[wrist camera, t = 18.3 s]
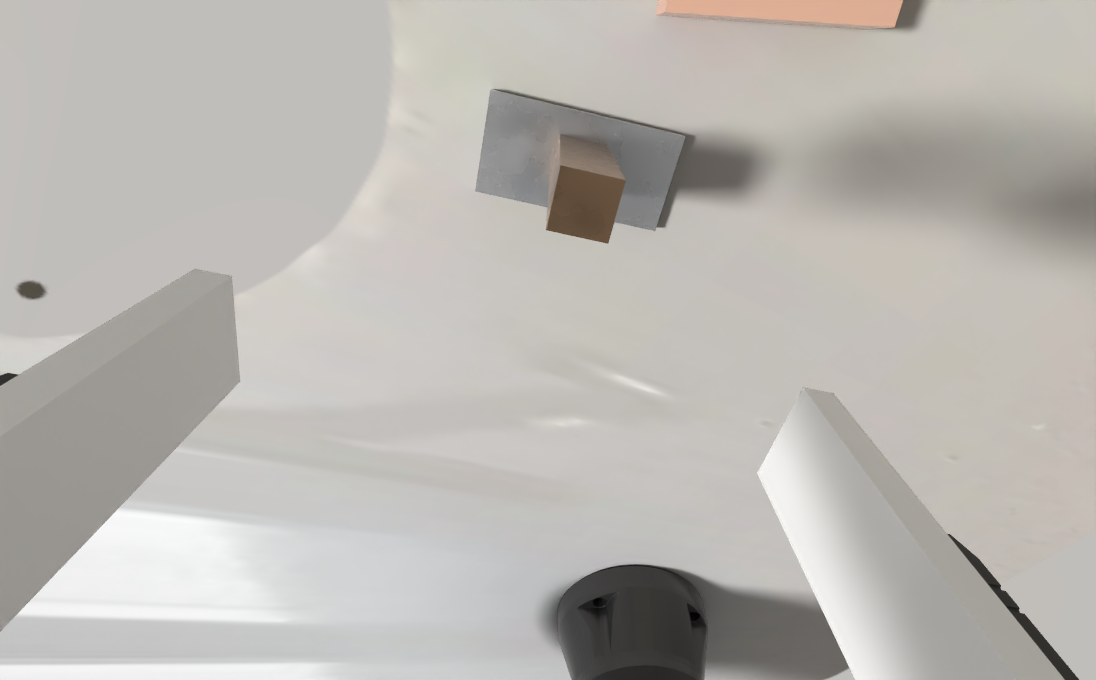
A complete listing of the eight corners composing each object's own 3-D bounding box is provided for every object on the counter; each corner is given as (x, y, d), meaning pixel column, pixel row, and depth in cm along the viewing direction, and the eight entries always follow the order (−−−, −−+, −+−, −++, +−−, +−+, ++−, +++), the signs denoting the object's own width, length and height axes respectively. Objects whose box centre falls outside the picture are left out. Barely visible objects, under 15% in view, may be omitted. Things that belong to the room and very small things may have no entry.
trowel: (682, 134, 33) (733, 168, 23) (652, 226, 36) (688, 291, 26) (492, 89, 32) (464, 105, 22) (477, 187, 35) (446, 240, 25)
